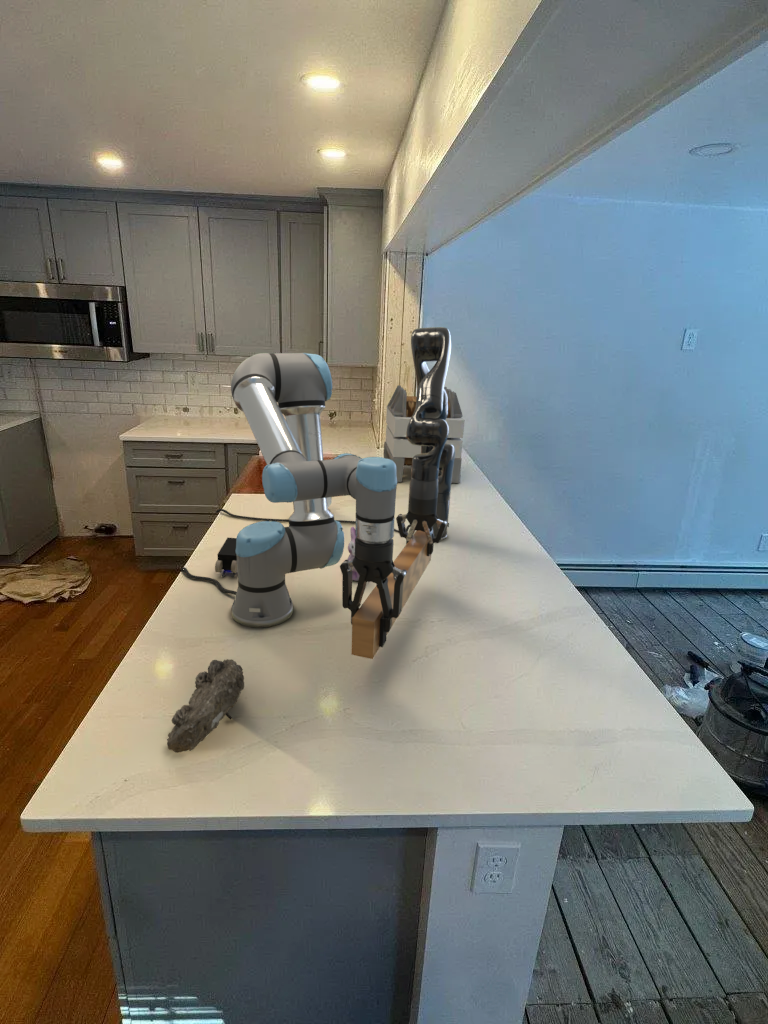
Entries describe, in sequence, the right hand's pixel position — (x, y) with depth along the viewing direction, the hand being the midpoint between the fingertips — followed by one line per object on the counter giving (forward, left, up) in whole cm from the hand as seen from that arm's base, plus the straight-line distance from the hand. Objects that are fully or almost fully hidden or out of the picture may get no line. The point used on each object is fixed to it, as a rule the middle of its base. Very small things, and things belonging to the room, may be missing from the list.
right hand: (419, 553), depth 154 cm
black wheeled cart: (-50, -23, -12) cm, 56 cm away
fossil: (-4, -67, -12) cm, 69 cm away
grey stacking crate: (-65, +106, -12) cm, 125 cm away
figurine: (-19, -1, -12) cm, 23 cm away
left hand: (+13, -39, -3) cm, 41 cm away
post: (+6, -20, -4) cm, 21 cm away
